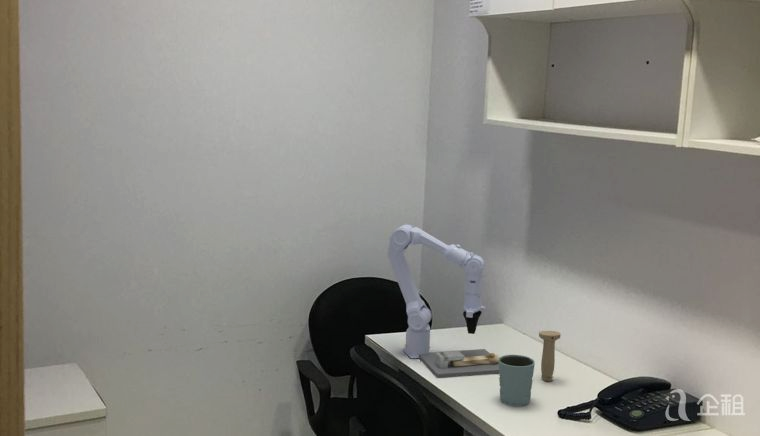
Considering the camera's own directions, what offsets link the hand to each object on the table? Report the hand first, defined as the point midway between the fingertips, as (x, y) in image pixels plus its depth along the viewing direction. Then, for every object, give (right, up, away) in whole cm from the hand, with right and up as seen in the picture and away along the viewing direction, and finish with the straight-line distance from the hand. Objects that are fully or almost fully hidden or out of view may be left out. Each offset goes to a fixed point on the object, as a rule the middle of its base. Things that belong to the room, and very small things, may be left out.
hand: (471, 333), depth 246 cm
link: (+1, -9, -5) cm, 10 cm away
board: (-3, -10, -2) cm, 11 cm away
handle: (+22, -13, -14) cm, 29 cm away
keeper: (-8, -9, -7) cm, 14 cm away
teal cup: (+8, -15, -31) cm, 35 cm away
